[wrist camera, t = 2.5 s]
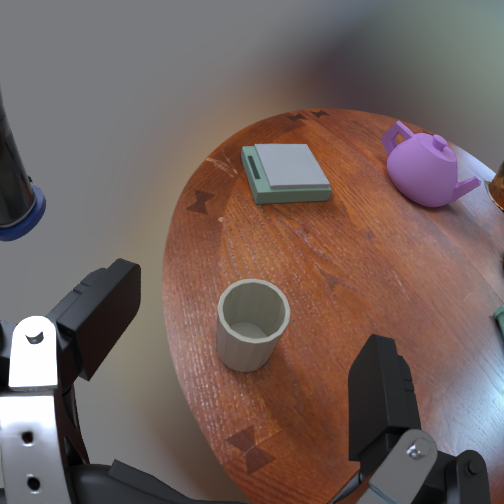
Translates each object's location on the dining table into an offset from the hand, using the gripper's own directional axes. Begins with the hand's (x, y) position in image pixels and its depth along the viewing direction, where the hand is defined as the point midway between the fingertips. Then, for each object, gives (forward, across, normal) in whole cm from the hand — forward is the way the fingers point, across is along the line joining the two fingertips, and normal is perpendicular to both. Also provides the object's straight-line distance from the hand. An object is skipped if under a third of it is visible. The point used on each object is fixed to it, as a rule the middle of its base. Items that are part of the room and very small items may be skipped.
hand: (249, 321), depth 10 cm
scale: (+43, +1, +6) cm, 44 cm away
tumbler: (+16, 0, +18) cm, 24 cm away
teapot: (+54, -25, +2) cm, 59 cm away
